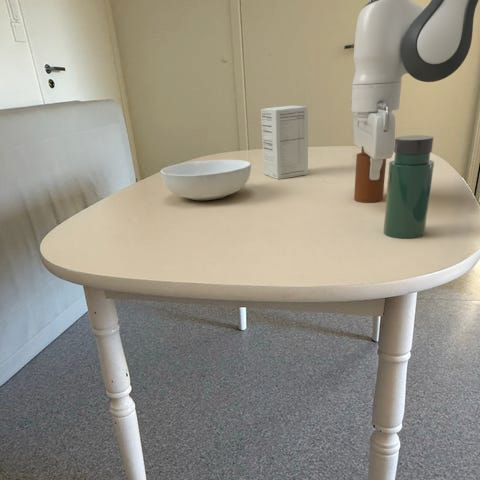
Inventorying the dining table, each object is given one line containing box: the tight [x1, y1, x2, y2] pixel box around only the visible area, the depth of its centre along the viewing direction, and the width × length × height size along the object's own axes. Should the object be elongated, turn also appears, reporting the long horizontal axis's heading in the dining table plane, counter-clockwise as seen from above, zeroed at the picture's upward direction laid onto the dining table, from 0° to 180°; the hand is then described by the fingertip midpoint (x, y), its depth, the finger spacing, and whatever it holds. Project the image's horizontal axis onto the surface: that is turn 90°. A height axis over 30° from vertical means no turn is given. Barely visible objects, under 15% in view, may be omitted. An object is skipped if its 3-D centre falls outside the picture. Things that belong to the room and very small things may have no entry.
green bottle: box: [382, 134, 435, 239], centre depth 70 cm, size 6×6×14 cm
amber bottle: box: [353, 146, 387, 204], centre depth 90 cm, size 6×6×12 cm
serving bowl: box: [160, 159, 252, 202], centre depth 104 cm, size 21×21×7 cm
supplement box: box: [260, 105, 309, 180], centre depth 118 cm, size 10×9×17 cm
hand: (369, 175), depth 91 cm, fingers closed on amber bottle, 6 cm apart
